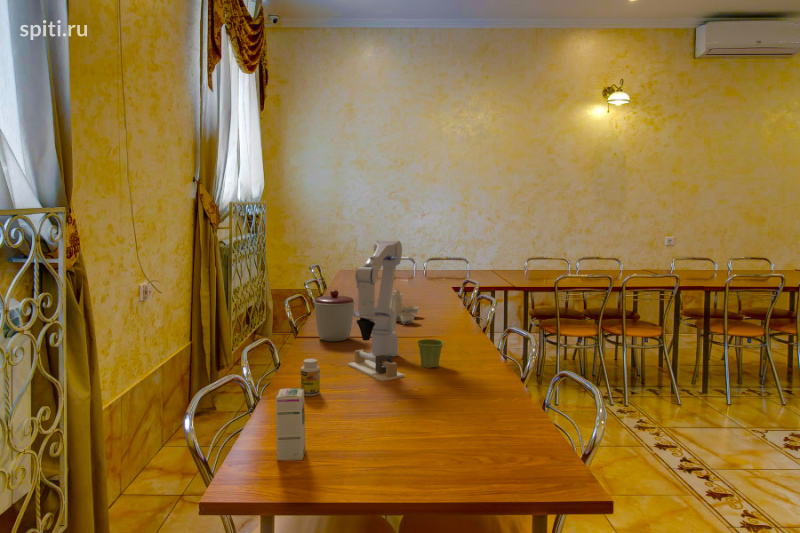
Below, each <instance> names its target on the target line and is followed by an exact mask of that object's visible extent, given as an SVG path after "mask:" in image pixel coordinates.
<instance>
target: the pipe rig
mask: <svg viewBox="0 0 800 533" xmlns="http://www.w3.org/2000/svg"><path fill="white" fill-rule="evenodd" d="M368 353H369V352H368ZM368 353H367V352H366V351H365V349H362V348H361V349H355V350H354V361H353V362H348V363H347V366H348V367H351V368H352V369H354V370H356V371H359V372H361V373H362V374H365V375H367V376H369V377H371V378H373V379H376V380H378V381H380V382H385V381H386V382H387V381H390V380H395V379H399V378H405V374H404V373H402V372H399V371H398V363H397V362H394V361H393V363H390V362H387V361H386V360H382V367H386V372H383V373H378V372H376V357H375V356H373V355H370V354H368Z"/></svg>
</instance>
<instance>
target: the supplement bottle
mask: <svg viewBox="0 0 800 533" xmlns="http://www.w3.org/2000/svg"><path fill="white" fill-rule="evenodd" d="M320 371H321V369H320V366H319V365H318V360H317V359H316V358H306V359H303V365H302V366H301V367H300V388H301V389H304V397H305V396H306V397H315V396H318V395H319V394H320V391H321V390H320V388H321V387H320V383H321V382H320V381H321V374H320V373H321V372H320Z"/></svg>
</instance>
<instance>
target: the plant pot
mask: <svg viewBox="0 0 800 533" xmlns="http://www.w3.org/2000/svg"><path fill="white" fill-rule="evenodd" d="M417 344H418V348H419V355H420V358H419V359H420V365H421V367H423V368H426V369H431V368H434V369H435V367H436V368H438V367H439V364H440V358H441V352H442V348H443V345H444V344H445V343H444V341H443V340H440V339H434V338H433V339H432V338H425V339H424V338H423V339H418V340H417Z"/></svg>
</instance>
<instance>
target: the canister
mask: <svg viewBox="0 0 800 533" xmlns="http://www.w3.org/2000/svg"><path fill="white" fill-rule="evenodd" d="M312 303H313V304H314V314H315V321H316V322H315V323H316V328H317V335H318V337H319V338H320V339H321V340H322V341H326V342H342V341H346V340H348V339H349V337H350V336H351V332H352V326H353V325H352V324H353V318H354V316H353V311H355V310H354V309H355V304H356V303H357V302H356V299H354V298H352V297H350V296H346V295H339V291H338V290H337V289H333V290H330V295H324V296H319V297H316V298H315V299H314V300H312Z"/></svg>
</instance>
